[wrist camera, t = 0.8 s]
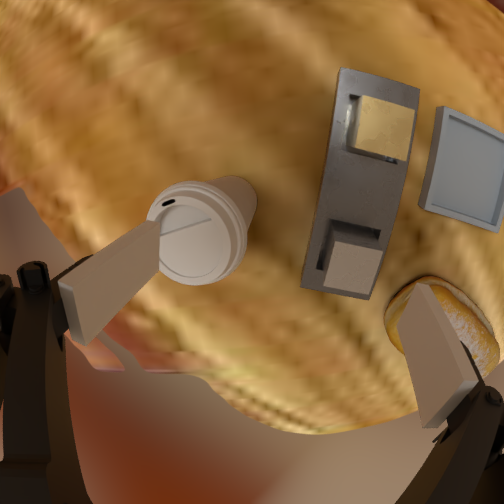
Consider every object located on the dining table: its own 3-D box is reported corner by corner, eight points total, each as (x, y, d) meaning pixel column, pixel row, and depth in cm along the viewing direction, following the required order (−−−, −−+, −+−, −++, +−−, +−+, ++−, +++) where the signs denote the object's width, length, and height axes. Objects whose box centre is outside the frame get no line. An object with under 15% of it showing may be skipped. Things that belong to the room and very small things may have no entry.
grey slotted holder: (337, 74, 28) (340, 67, 25) (408, 93, 27) (420, 89, 24) (301, 272, 39) (300, 287, 36) (364, 284, 38) (368, 300, 34)
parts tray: (436, 107, 27) (444, 105, 25) (509, 141, 25) (518, 142, 23) (417, 204, 32) (424, 209, 30) (489, 227, 31) (498, 233, 28)
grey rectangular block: (330, 217, 34) (335, 241, 27) (369, 226, 34) (383, 251, 27) (322, 254, 36) (323, 286, 29) (359, 262, 36) (368, 294, 29)
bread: (423, 251, 35) (444, 279, 27) (502, 331, 36) (520, 359, 29) (362, 319, 40) (369, 355, 33) (453, 379, 42) (463, 409, 35)
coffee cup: (271, 166, 34) (243, 189, 21) (266, 239, 38) (239, 301, 25) (197, 162, 36) (132, 183, 22) (197, 231, 40) (142, 284, 26)
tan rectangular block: (351, 103, 29) (363, 95, 21) (392, 114, 28) (414, 110, 21) (345, 144, 31) (355, 147, 23) (385, 154, 30) (406, 161, 23)
